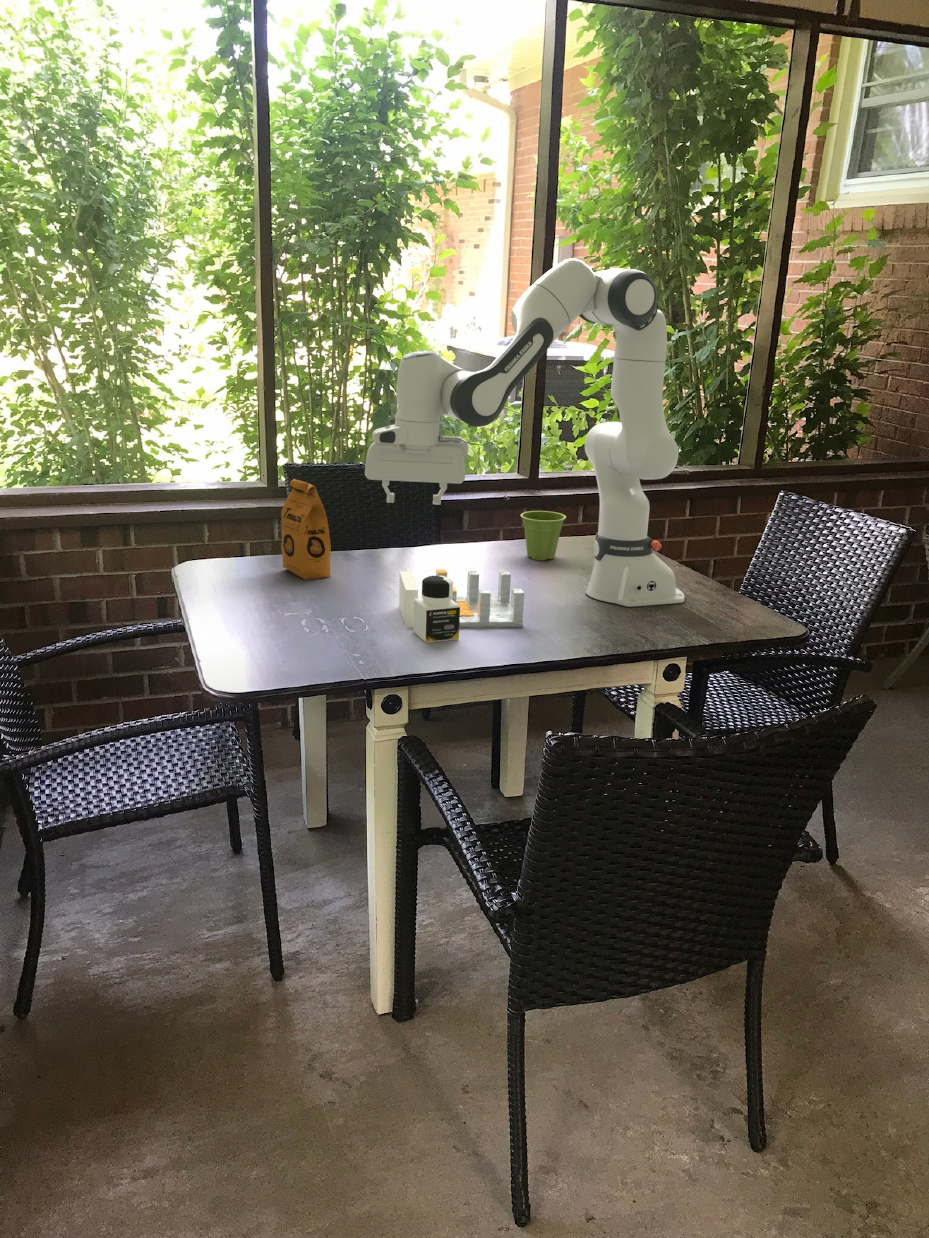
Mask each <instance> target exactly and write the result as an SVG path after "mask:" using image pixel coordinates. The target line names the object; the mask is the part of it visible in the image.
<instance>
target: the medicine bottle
mask: <svg viewBox="0 0 929 1238" xmlns="http://www.w3.org/2000/svg"><path fill="white" fill-rule="evenodd" d="M453 587H454V582H453V579H451V578H449V577H448V576H447V577H445V576H436V575H429V576H427V577H424V578H423V579H422V581H421V597H418V598H416V599H414V625H413V627H412V628H413V630H412V631H413V633H414V634H415V635H417V636H418V637H419V638H420V639H421V640H422V641H423V642H425V643H426V644H427V643H428V644H431V643H439V642H449V641H456V640H457V641H458V640H459V639H460V628H459V623H460V606H459V605H458V604H457V603H455V602H454V601H453V600H451V599H452V597H453Z"/></svg>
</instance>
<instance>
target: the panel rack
mask: <svg viewBox="0 0 929 1238" xmlns="http://www.w3.org/2000/svg"><path fill="white" fill-rule="evenodd" d="M435 572H436V573H435V574H436V575H435V576H445V577H448V571H447V570H446V569H444V568H442V569H437V568H436V571H435ZM511 575H512V574H511V572H509V570H499V571H498V587H497V588H498V589H497V591H498V592H497V595H495V596H494V595H493V596H492V595H491V591H490V590H489V588H479V587H480V574H479V572H478V571H477V570H467V584H466V585H467V586H466V587H467V588H466V596H457V593H458V591H457V590H456V587H454V586H453V597H452V599H451V600H453V601H454V602H455V603H457V604H458V605H459V606H460V623H459V629H475V628H477V629H480V628H487V629H489V628H524V627H523V626H524V621H523V620H524V607H525V606H524V604H525V592H524V591H523V589H522V588H511V578H512V577H511ZM510 594H511V596H510ZM510 597H511V598H510Z"/></svg>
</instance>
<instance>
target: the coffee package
mask: <svg viewBox="0 0 929 1238" xmlns="http://www.w3.org/2000/svg"><path fill="white" fill-rule="evenodd" d="M289 486H290V487H292V488H291V491H290V492H289V494H288V497H287V498H286V500H285V502H284V504H283V507H282V509H281V513H280V516H281V544H280V548H281V557H282V567H283V568H284V569H286V570H287V571H290V572H292V573H293V574H294V575H295V576H297V577H300V578H302V579H303V580H306V581H307V580H311V579H312V580H315V579H322V578H324V579H325V578H330V577H331V548H332V545H331V537H330V529H329V528H330V527H329V523H328V517H327V513H326V510H325V508H324V505H323V503H322V500H321V498H320V496H319V493H318V491H317V488H316V486H315V485H313V484H311V483H309V482H306V481H302V480H299V479H295V478H293V479H292V480H291V481H290V482H289Z"/></svg>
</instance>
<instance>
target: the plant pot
mask: <svg viewBox="0 0 929 1238" xmlns="http://www.w3.org/2000/svg"><path fill="white" fill-rule="evenodd" d="M520 517H521V519H522V525H523V527H524V536H525V545H526V547H525V548H526V553H527V558H530V559H532V560H536V561H537V560H538V561H546V560H553V559H555V557H556V552H557V548H558V543H559V540H560V539H559V538H560V536H561V535H560V534H561V530H562V527H563V525H564V520H566V518H567V516H566V515H565V514H563V513H560V512H555V511H548V510H531V511H525V512H522V513H521V514H520Z"/></svg>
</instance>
